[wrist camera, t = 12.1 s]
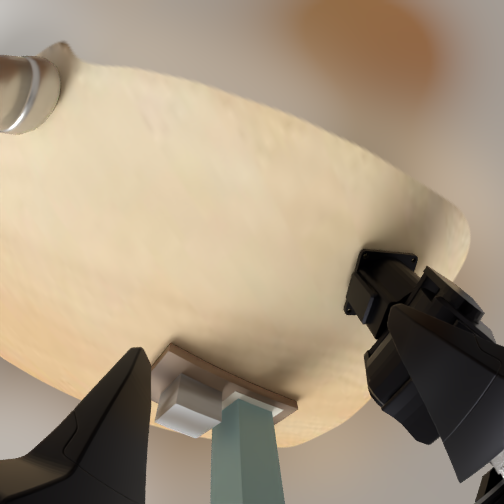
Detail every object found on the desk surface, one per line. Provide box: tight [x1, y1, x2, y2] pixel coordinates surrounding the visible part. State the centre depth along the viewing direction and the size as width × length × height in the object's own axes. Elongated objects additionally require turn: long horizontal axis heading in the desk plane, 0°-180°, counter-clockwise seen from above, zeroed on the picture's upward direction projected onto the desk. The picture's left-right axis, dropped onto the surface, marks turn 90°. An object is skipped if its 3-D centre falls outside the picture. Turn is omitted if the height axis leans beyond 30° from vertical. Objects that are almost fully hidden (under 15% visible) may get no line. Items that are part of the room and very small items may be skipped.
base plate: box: [151, 343, 298, 438], centre depth 26 cm, size 9×17×5 cm, turn 52°
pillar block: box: [211, 399, 285, 504], centre depth 23 cm, size 5×5×13 cm
